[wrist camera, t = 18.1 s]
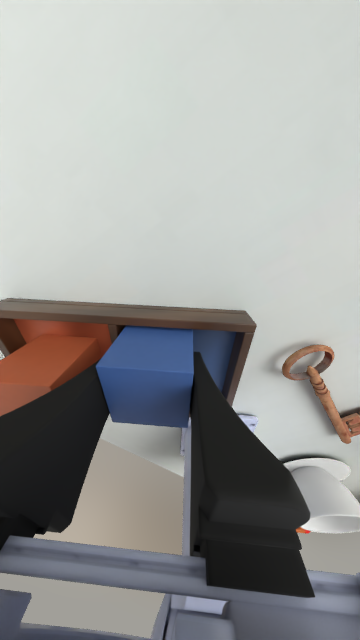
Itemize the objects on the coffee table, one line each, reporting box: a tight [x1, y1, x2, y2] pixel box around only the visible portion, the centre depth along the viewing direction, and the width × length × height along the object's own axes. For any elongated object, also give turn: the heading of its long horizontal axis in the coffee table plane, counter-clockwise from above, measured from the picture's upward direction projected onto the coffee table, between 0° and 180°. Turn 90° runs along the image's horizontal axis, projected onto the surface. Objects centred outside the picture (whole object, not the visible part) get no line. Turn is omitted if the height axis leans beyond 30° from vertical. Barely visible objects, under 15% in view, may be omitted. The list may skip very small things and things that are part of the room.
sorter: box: [0, 298, 257, 418], centre depth 13 cm, size 18×10×2 cm, turn 88°
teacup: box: [283, 458, 360, 533], centre depth 19 cm, size 10×10×5 cm
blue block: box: [96, 325, 194, 428], centre depth 10 cm, size 4×4×4 cm
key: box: [282, 345, 360, 444], centre depth 14 cm, size 6×1×15 cm
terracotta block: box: [0, 335, 102, 416], centre depth 11 cm, size 4×4×4 cm
